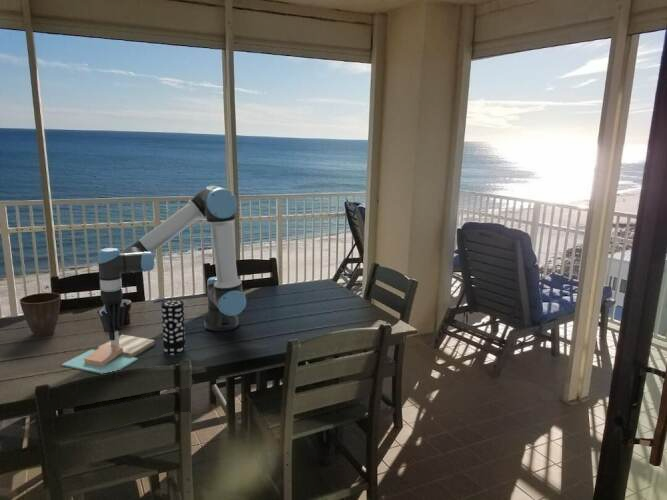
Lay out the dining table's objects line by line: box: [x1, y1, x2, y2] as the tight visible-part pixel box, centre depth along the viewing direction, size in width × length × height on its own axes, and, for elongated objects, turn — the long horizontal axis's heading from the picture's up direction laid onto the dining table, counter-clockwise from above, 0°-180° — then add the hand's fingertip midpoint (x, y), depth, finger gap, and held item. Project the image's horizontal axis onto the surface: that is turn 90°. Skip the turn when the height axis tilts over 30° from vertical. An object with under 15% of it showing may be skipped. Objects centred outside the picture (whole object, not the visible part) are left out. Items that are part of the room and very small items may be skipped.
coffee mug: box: [121, 299, 132, 327], centre depth 220 cm, size 12×9×10 cm
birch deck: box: [96, 334, 156, 358], centre depth 193 cm, size 16×14×2 cm
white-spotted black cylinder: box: [160, 299, 186, 356], centre depth 190 cm, size 8×8×20 cm
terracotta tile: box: [84, 343, 123, 367], centre depth 181 cm, size 8×11×2 cm
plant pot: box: [19, 292, 62, 337], centre depth 204 cm, size 15×15×16 cm
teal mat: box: [61, 349, 139, 375], centre depth 180 cm, size 22×14×1 cm, turn 72°
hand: (115, 346), depth 187 cm, fingers closed
